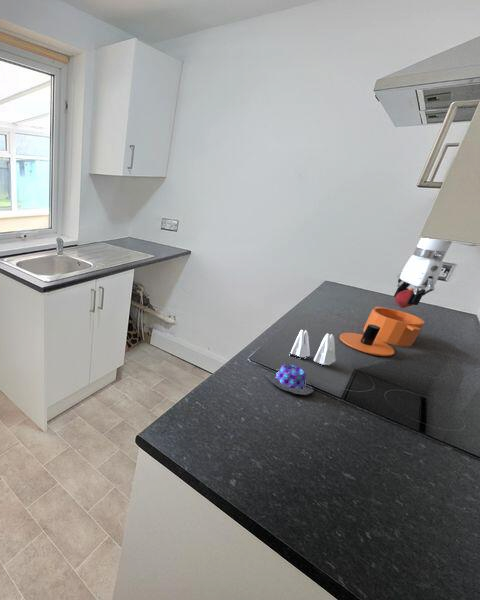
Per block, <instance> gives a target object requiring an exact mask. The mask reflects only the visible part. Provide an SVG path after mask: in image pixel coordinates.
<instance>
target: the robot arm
mask: <svg viewBox="0 0 480 600" xmlns="http://www.w3.org/2000/svg"><path fill="white" fill-rule="evenodd" d="M452 244H453V242H452V241H445V240H437V239H429V238H421V237H420V239H419V241H418V243H417V245H416V248H415V249H414V251H413V253H412V254H411V256H410V258H409V259H408V260H407V262H406V263H405V265H404V267H403V268H402V271H401V273H399V274H398V275H396V276H397V279H398V280H397V289H396V291H395V293H394V294H393V297H394V298H395V297H396V295H397V294H398V293H399V292H401V291H403V290H408V289H409V287H410V286H413V287H414V288H413V289H414V290H413V291H414V294H411V296H410V298H409V299H408V301H407V304H411V305H412V306H418V305H419V304H420V301H421V299H422V297H423V296H426V294H429V293H430V292H432V291H434V290H435V286H436V284H437V282H438V279H439V278H440V275H441V273H442V269H443V266H444V258H445V257H446V254H447V252H448V250H449V249H450V247H451V245H452ZM454 244H459V245H464V246H469V247H477V246H480V245H476V244H469V243H461V242H454Z"/></svg>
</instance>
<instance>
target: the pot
mask: <svg viewBox="0 0 480 600" xmlns="http://www.w3.org/2000/svg"><path fill="white" fill-rule="evenodd" d="M425 323H426V322H425V320H424V319H422V318H421V317H418V316H417V315H415V314H411V313H409V312H406V311H402V310H399V309H393V308H388V307H383V306H375V307H374V308H372V309H371V311H370V313H369V315H368V318H367V320H366V322H365V325H364V327H363V329H362V330H363V331H362V332H363V333H364V332H365V330H366V328H367V326H368V325H369V324H372V325H376V326H378V327H380V330H379V332H378V334H377V336H376V338H375V339H377V340H380V341H382V342H384V343H386V344H387V345H392V346H396V347H406V348H407V347H412V346H413V344H414V343H415V341H416V340H417V337H418V336H419V334H420V332H421V331H422V330H423V329H422V328H423V327H424V325H425Z"/></svg>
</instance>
